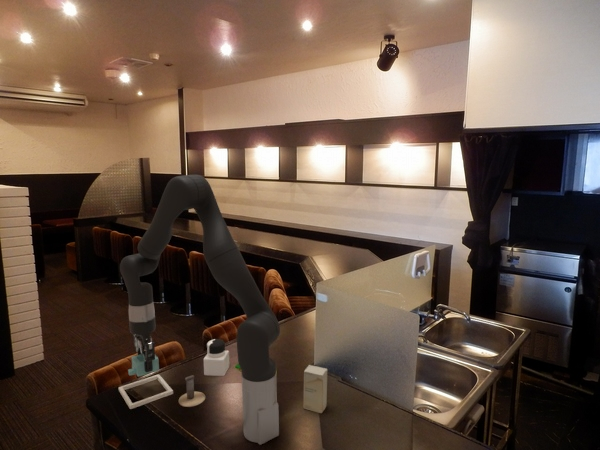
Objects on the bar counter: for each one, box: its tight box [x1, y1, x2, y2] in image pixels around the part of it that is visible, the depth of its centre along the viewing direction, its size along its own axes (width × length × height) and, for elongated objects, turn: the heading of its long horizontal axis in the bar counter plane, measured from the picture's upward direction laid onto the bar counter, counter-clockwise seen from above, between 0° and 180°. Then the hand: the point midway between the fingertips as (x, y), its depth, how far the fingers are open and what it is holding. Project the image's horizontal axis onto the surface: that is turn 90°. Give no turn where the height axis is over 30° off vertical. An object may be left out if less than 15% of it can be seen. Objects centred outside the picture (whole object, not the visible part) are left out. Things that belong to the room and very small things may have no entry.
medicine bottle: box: [202, 338, 230, 377], centre depth 139 cm, size 7×7×12 cm
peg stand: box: [178, 374, 206, 408], centre depth 122 cm, size 8×8×8 cm
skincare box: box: [302, 364, 328, 414], centre depth 118 cm, size 6×4×12 cm
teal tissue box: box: [127, 354, 160, 378], centre depth 124 cm, size 8×6×4 cm
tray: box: [118, 374, 174, 410], centre depth 126 cm, size 13×13×2 cm
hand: (145, 366), depth 125 cm, fingers closed on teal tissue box, 6 cm apart
